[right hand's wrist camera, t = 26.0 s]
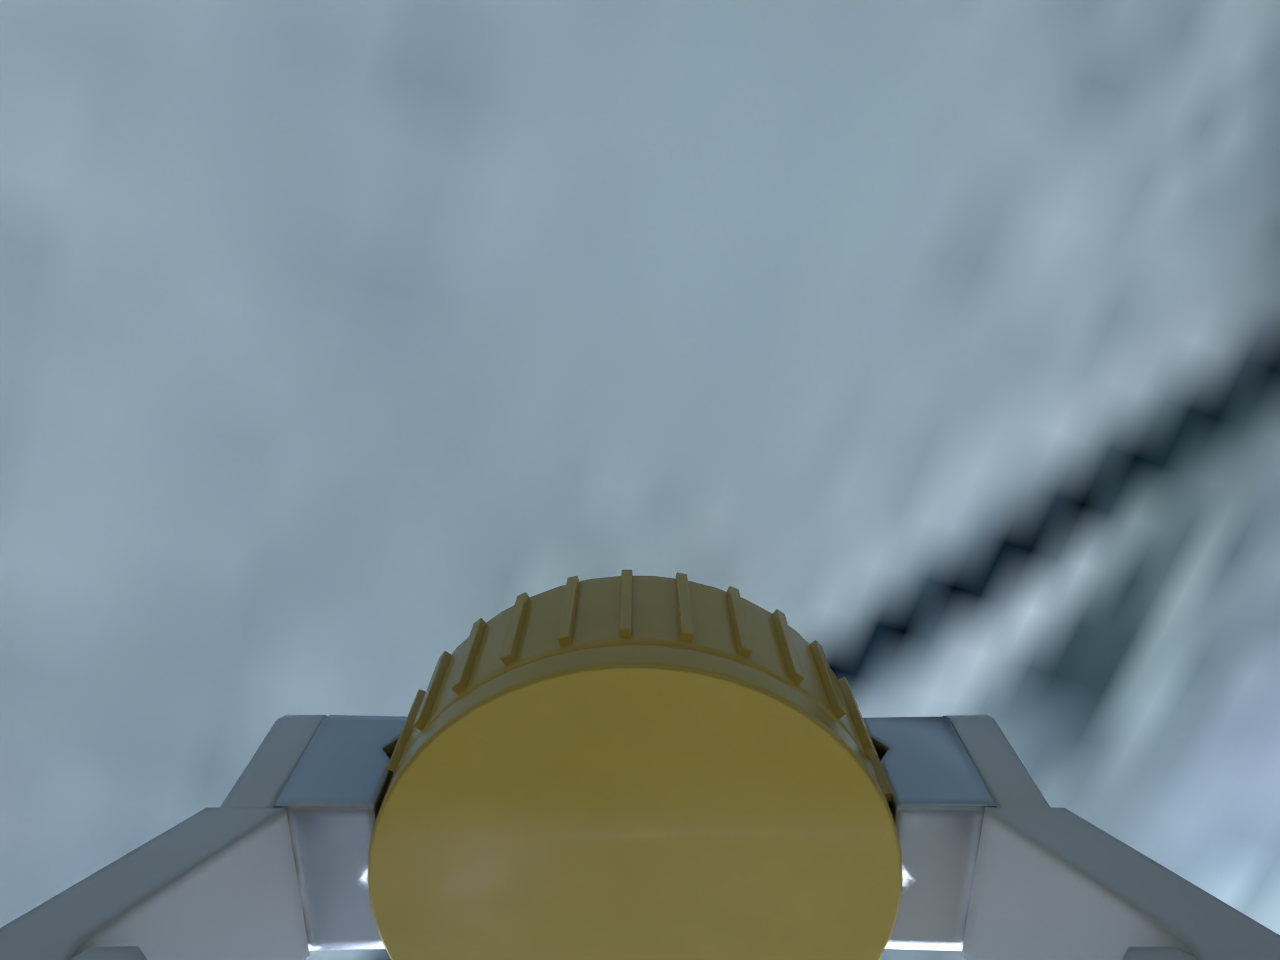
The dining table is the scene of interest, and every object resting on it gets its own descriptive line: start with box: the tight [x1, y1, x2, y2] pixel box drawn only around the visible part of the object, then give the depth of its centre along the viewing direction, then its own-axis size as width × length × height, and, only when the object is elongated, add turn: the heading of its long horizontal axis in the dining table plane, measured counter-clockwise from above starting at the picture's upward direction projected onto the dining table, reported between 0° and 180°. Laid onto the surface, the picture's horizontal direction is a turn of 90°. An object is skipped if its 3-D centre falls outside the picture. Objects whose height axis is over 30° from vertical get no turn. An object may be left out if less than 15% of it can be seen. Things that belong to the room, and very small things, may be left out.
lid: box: [367, 570, 903, 960], centre depth 9 cm, size 5×5×2 cm
